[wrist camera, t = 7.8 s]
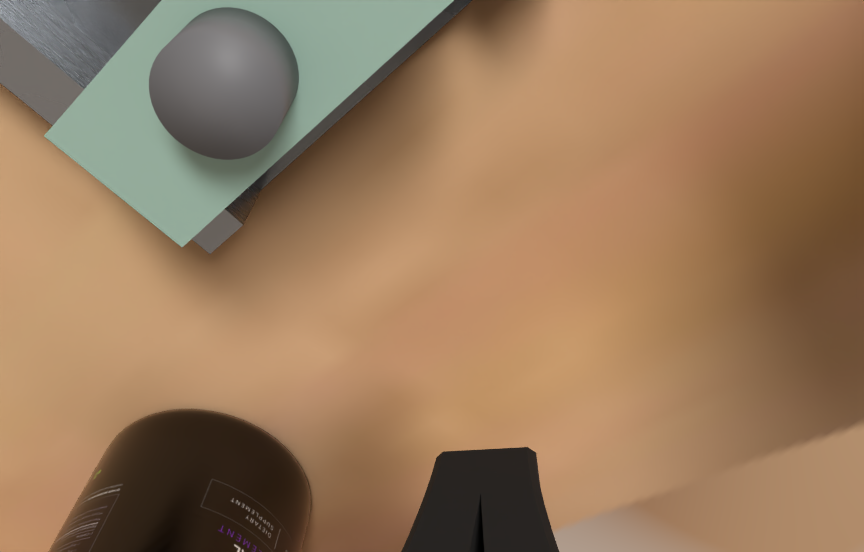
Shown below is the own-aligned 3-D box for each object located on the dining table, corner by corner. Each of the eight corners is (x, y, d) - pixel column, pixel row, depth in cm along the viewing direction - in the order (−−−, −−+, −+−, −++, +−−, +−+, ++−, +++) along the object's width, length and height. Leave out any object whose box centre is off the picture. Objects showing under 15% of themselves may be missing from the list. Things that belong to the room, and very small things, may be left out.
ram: (471, -67, 15) (457, 18, 11) (239, 151, 18) (159, 284, 14) (357, -202, 14) (295, -165, 10) (131, 55, 17) (8, 168, 13)
